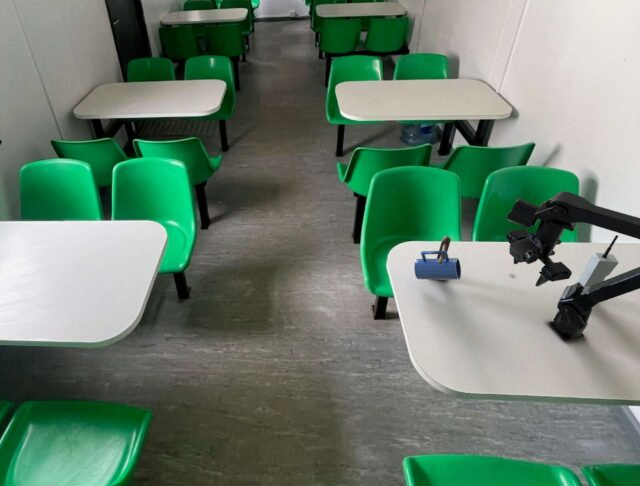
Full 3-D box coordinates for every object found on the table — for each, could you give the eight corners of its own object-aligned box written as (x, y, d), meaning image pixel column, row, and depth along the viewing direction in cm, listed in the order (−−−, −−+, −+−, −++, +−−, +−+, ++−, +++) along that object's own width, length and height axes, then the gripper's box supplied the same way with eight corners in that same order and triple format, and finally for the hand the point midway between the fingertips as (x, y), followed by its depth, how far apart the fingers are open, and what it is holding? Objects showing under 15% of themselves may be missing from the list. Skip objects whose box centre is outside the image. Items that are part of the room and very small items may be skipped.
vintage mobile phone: (593, 301, 131) (633, 240, 116) (575, 299, 132) (612, 238, 117) (588, 293, 134) (626, 232, 119) (571, 291, 135) (606, 230, 120)
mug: (422, 270, 140) (462, 270, 133) (418, 283, 136) (459, 283, 128) (414, 245, 137) (455, 244, 129) (409, 258, 132) (451, 257, 125)
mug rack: (446, 272, 144) (458, 234, 134) (439, 299, 134) (452, 260, 124) (428, 266, 146) (439, 229, 136) (420, 293, 136) (431, 254, 126)
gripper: (498, 217, 121) (481, 256, 130) (546, 262, 106) (523, 303, 115) (533, 212, 122) (514, 251, 132) (584, 256, 108) (559, 296, 117)
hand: (526, 274), depth 124 cm, fingers open, 9 cm apart
